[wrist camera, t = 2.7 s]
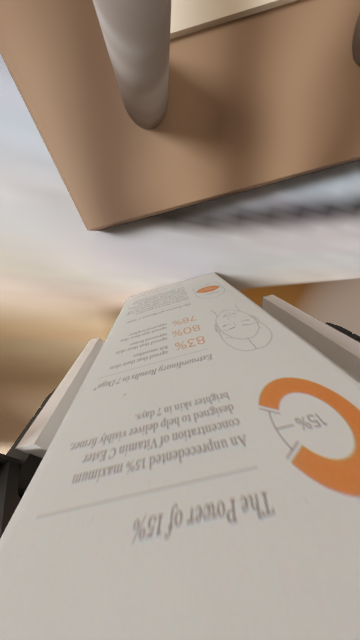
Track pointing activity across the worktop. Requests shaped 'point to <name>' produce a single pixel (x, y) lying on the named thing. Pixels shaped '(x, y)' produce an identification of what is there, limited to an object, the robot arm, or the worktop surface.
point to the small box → (194, 485)
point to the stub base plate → (184, 95)
